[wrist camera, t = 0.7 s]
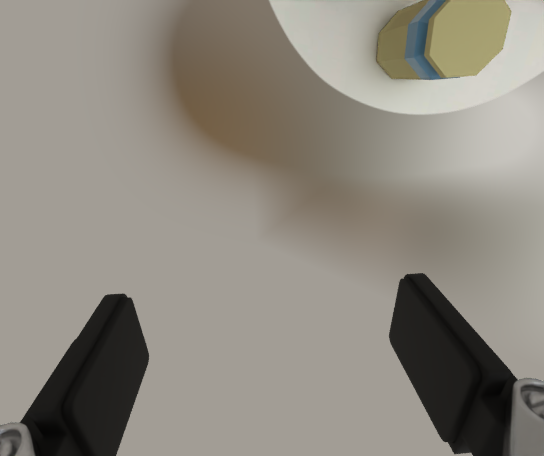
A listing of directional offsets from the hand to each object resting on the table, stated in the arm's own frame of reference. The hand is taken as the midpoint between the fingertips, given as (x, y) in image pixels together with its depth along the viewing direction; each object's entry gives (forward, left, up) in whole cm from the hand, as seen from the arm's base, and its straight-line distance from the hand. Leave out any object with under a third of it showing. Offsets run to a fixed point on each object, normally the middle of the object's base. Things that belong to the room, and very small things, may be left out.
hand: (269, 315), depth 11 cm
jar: (-12, +23, -43) cm, 50 cm away
